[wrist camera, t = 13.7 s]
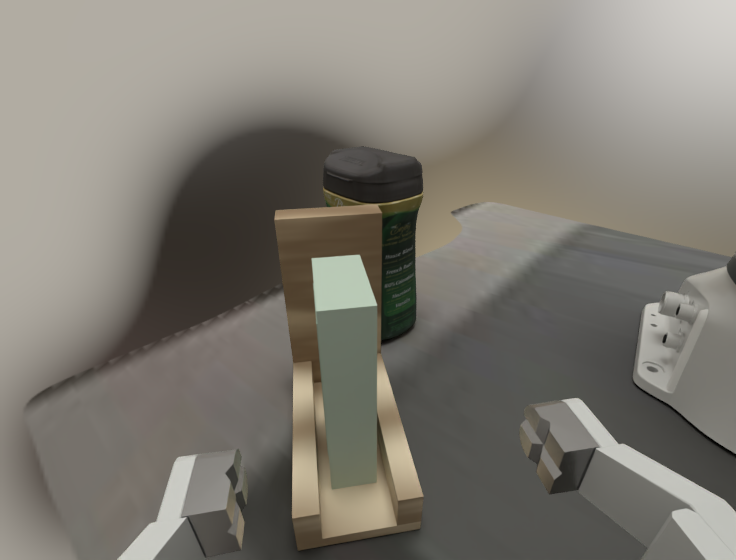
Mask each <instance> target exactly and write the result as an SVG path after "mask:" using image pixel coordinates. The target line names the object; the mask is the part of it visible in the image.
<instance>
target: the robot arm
mask: <svg viewBox="0 0 736 560" xmlns="http://www.w3.org/2000/svg"><path fill="white" fill-rule="evenodd" d="M633 381H634V382H635V383H636V384H637V385H638V386H639V387H640V388H642V389H643V390H645V391H646V392H648V393H650V394H651V395H653V396H655V397H657V398H658V399H660V400H662V401H664V402H665V403H667V404H669V405H670V406H672V407H673V408H674V409H676V410H677V411H678V412H679V413H680V414H682V415H683V416H684V417H685V418H686V419H687V420H688V421H690V422H691V423H692V424H693V425H694V426H695V427H697V428H698V429H699V430H700V431H702V432H703V433H704V434H706V435H707V436H709V437H710V438H711V439H713V440H714V441H716V442H717V443H719V444H720V445H722V446H723V447H725V448H727V449H728V450H730V451H732V452H733V453H735V454H736V252H735V255H734V256H733V257H732V258H731V260H730V261H729V262H728V264H727V266H726V267H723V268H720V269H716V270H713V271H709V272H705V273H701V274H697V275H693V276H691V277H688V278H687V279H686V280H685V281H684V282H683V284H682V286H681V288H680V290H679V292H678V293H673V292H669V291H667V292H664V294H663V296H662V298H661V301H660V303H652V304H647V305H646V306H645V307H644V309H643V311H642V314H641V321H640V328H639V335H638V342H637V350H636V357H635V364H634V371H633ZM524 416H525V417H526V420H525V421H524V422H523V423H522V424H521V427H520V431H519V435H520V441H521V445H522V447H523V450H524V452H525V453H526V455H527V457H528V458H529V459H530V460H532V461H533V462H535V463H536V464H537V470H536V473H537V474H538V476H539V478H540V479H541V481H542V483H543V484H544V486H545V488H546V490H547V491H548V493H549V494H555V493H562V492H568V491H575V490H578V492H579V493H580V494H581V495H583V496H584V497H585V498H586V499H587V500H589V501H590V502H591V503H592V504H594V505H595V506H596V507H597V508H599V509H600V510H601V511H602V512H604V513H605V514H606V515H607V516H609V517H610V518H611V519H612V520H614V521H615V522H616V523H617V524H618V525H620V526H621V527H622V528H623V529H625V530H626V531H627V532H628V533H630V534H631V535H632V536H633V537H635V538H636V539H637V540H638V541H640V542H641V543H642V544H643V545H645V546H646V547H647V548H648V549H647V551H646V552H645V554H644V555H643V557H642V558H641V560H736V512H735V511H734V509H733V508H732V507H731V506H730V505H729V504H728V503H727V502H726V501H725V500H724V499H722V498H720V497H718V496H716V495H715V494H713V493H711V492H709V491H707V490H706V489H704V488H702V487H700V486H699V485H697V484H695V483H693V482H691V481H690V480H688V479H686V478H684V477H682V476H681V475H679V474H677V473H675V472H673V471H672V470H670V469H668V468H666V467H664V466H663V465H661V464H659V463H657V462H656V461H654V460H652V459H650V458H648V457H647V456H645V455H643V454H641V453H639V452H638V451H636V450H634V449H632V448H630V447H629V446H627V445H625V444H618V443H617V442H616V441H615V439H614V438H613V437H612V436H611V435H610V433H609V432H608V431H607V430H606V429H605V428H604V426H603V425H602V424H601V423H600V422H599V420H598V419H597V418H596V417H595V416H594V414H593V413H592V412H591V411H590V410H589V409H588V407H587V406H586V405H585V404H584V403H583V401H582V400H580V399H578V398H572V399H566V400H560V401H559V400H557V401H551V402H545V403H539V404H533V405H528V406H527V407H526V408H525V411H524ZM246 503H247V475H246V471H245V468H244V467H243V466H241V454H240V451H239V449H237V450H229V451H221V452H213V453H205V454H196V455H189V456H182V457H178V458H177V460H176V461H175V463H174V465H173V468H172V471H171V475H170V478H169V481H168V484H167V488H166V491H165V494H164V498H163V501H162V504H161V507H160V511H159V514H158V517H157V521H156V522H154V523H150V524H149V525H148V526H147V527H146V528H145V529H144V530H143V531H142V533H141V534H140V535H139V536H138V537H137V538H136V539H135V540H134V542H133V543H132V544H131V545H130V546H129V547H128V548H127V549H126V551H125V552H124V553H123V554H122V555H121V556H120V557H119V558H118V560H206V558H207V557H212V556H217V555H221V554H226V553H231V552H236V551H240V550H241V547H242V538H243V530H244V520H243V517H242V514H241V512H242V510H243V509H244V507H245V506H246Z"/></svg>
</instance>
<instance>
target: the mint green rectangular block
mask: <svg viewBox="0 0 736 560" xmlns="http://www.w3.org/2000/svg"><path fill="white" fill-rule="evenodd" d="M312 269H313V281H314V283H313V290H314V302H315V314H316V326H317V338H318V349H319V360H320V371H321V383H322V394H323V405H324V416H325V427H326V439H327V450H328V456H329V464H330V475H331V487H332V490H333V489H339V488H345V487H351V486H357V485H364V484H370V483H376V482H377V303H376V300H375V297H374V295H373V292H372V289H371V286H370V283H369V280H368V277H367V274H366V271H365V268H364V266H363V263H362V260H361V257H360V255H348V256H335V257H323V258H312Z"/></svg>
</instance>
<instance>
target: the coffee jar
mask: <svg viewBox="0 0 736 560" xmlns="http://www.w3.org/2000/svg"><path fill="white" fill-rule="evenodd" d="M323 186H324V187H323V191H324V196H325V201H326V205H327V207H341V206H358V205H375V204H377V205H378V207H379V209H380V210H381V212H382V279H381V340H384V339H389V338H393V337H396V336H398V335H400V334H401V333H403V332H405V331H406V330H408V329H409V328H410V327H411V326H412V325H413V324H414V322H415V320H416V277H415V231H416V220H417V214H418V210H419V207H420V205H421V202H422V198H423V179H422V165H421V163H420V162H418V161H417V159H416V158H415V157H411V156H407V155H401V154H397V153H392V152H388V151H384V150H380V149H375V148H369V147H364V146H362V147H354V148H347V149H339V150H333V151H332V152H331V154H330V155H329V156H328V157H327V159H326V160H325V163H324V174H323Z"/></svg>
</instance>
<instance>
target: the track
mask: <svg viewBox="0 0 736 560" xmlns="http://www.w3.org/2000/svg"><path fill="white" fill-rule="evenodd" d="M275 227H276V235H277V242H278V250H279V257H280V265H281V273H282V280H283V288H284V296H285V303H286V311H287V318H288V326H289V334H290V341H291V349H292V356H293V474H292V521H293V526H294V532H295V537H296V543H297V549H298V551H299V550H305V549H310V548H316V547H321V546H327V545H332V544H338V543H344V542H349V541H355V540H360V539H366V538H372V537H377V536H383V535H388V534H394V533H399V532H405V531H411V530H416V529H420V526H421V516H422V506H423V493H422V490H421V487H420V483H419V480H418V476H417V473H416V470H415V466H414V463H413V460H412V456H411V453H410V450H409V446H408V443H407V439H406V436H405V433H404V429H403V426H402V423H401V419H400V416H399V413H398V409H397V406H396V403H395V399H394V396H393V392H392V389H391V386H390V382H389V379H388V376H387V372H386V369H385V366H384V362H383V359H382V355H381V279H382V212H381V210H380V209H379V207H378V205H377V204H375V205H358V206H341V207H324V208H308V209H291V210H276V213H275ZM348 255H360V257H361V260H362V263H363V266H364V268H365V271H366V274H367V277H368V280H369V283H370V286H371V289H372V292H373V295H374V297H375V300H376V303H377V482H376V483H370V484H364V485H357V486H351V487H345V488H339V489H333V490H332V487H331V475H330V464H329V456H328V450H327V439H326V427H325V416H324V405H323V394H322V383H321V371H320V360H319V349H318V338H317V326H316V314H315V302H314V290H313V283H314V281H313V269H312V258H323V257H335V256H348Z"/></svg>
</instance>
